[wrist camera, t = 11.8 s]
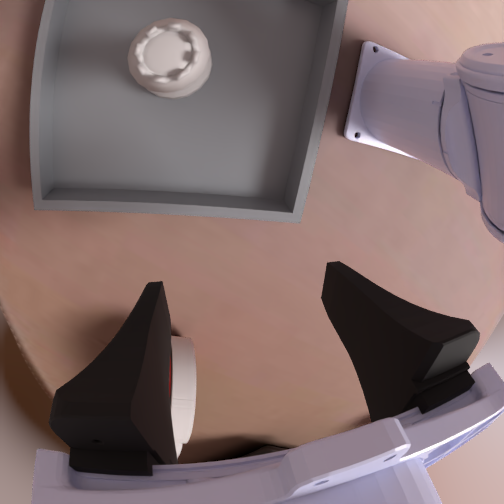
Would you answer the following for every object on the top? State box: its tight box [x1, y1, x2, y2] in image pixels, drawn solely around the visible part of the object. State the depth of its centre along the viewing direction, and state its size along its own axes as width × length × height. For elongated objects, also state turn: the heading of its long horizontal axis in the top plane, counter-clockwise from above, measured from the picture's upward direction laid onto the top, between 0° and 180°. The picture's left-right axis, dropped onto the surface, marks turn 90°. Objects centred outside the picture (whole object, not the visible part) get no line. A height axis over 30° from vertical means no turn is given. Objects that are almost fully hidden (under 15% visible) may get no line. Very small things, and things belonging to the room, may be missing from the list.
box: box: [30, 0, 348, 223], centre depth 16 cm, size 18×16×3 cm
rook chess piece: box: [127, 18, 213, 100], centre depth 12 cm, size 4×4×8 cm
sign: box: [169, 336, 196, 459], centre depth 28 cm, size 22×2×10 cm, turn 161°
